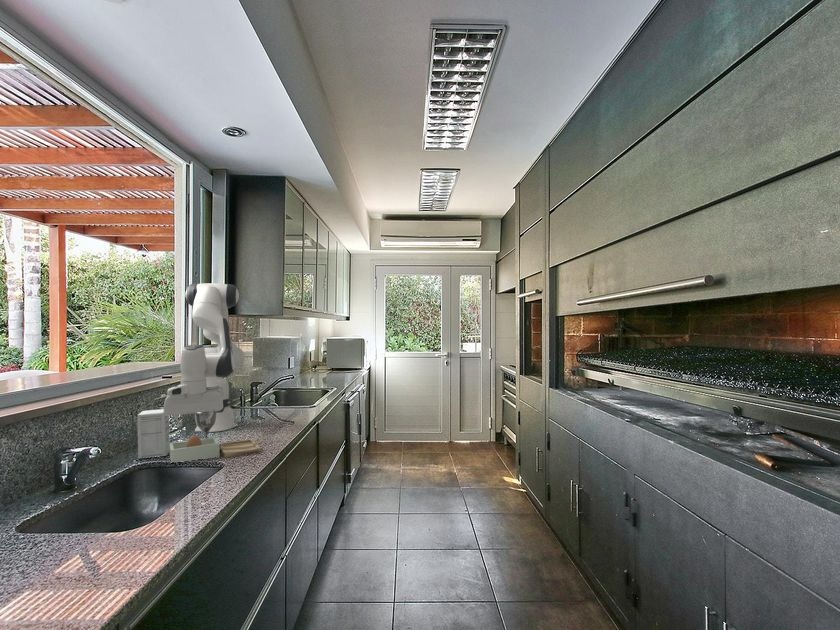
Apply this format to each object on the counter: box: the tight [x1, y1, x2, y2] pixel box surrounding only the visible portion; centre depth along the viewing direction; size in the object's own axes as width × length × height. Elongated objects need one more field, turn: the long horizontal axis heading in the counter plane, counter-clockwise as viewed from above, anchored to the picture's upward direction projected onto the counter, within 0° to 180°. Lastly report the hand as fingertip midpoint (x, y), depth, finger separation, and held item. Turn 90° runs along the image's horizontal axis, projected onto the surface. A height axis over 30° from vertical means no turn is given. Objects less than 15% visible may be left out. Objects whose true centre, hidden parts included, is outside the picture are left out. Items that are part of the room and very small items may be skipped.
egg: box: [187, 435, 202, 447], centre depth 173 cm, size 5×5×8 cm
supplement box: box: [136, 408, 171, 458], centre depth 176 cm, size 10×9×17 cm
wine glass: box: [194, 411, 216, 439], centre depth 185 cm, size 8×8×15 cm
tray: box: [219, 438, 262, 459], centre depth 181 cm, size 18×13×2 cm
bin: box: [169, 436, 221, 464], centre depth 173 cm, size 12×16×5 cm
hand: (194, 425), depth 173 cm, fingers open, 8 cm apart
